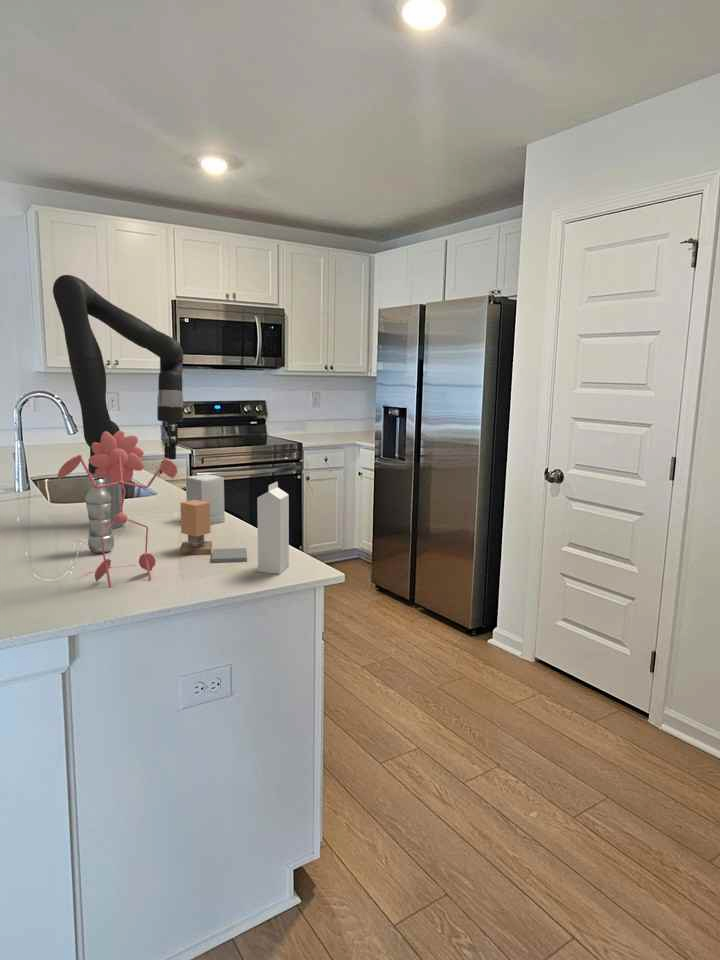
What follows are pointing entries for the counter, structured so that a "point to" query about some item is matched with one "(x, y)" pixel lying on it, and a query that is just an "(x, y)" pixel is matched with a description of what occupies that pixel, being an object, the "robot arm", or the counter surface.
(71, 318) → the robot arm
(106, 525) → the plastic bottle
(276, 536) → the milk
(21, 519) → the counter surface
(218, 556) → the mat
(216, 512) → the supplement box
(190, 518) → the tall orange box
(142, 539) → the counter surface
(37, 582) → the counter surface
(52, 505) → the counter surface
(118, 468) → the figurine
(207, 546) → the post stand
